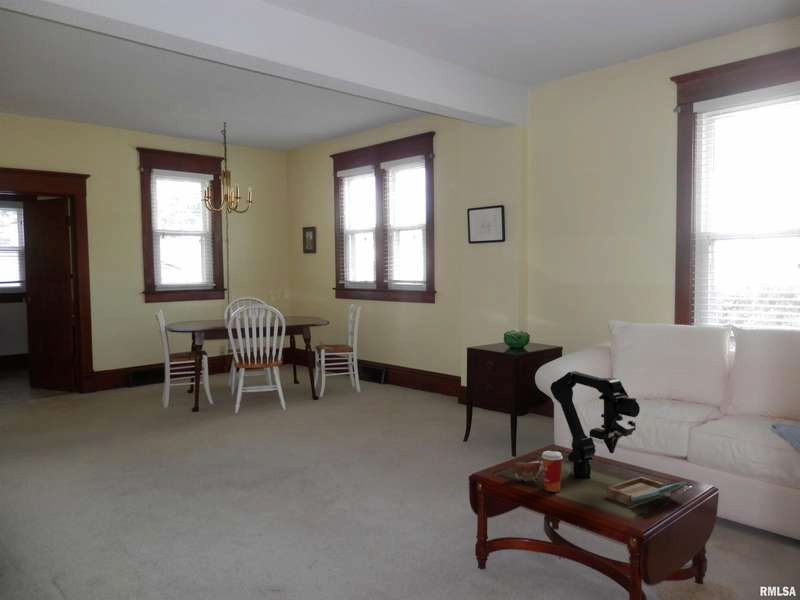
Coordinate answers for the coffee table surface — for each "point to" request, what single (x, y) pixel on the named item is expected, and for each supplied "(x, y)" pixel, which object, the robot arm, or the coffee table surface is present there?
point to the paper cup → (552, 470)
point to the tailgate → (659, 491)
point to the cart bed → (632, 489)
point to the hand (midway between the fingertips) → (611, 453)
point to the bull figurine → (528, 468)
